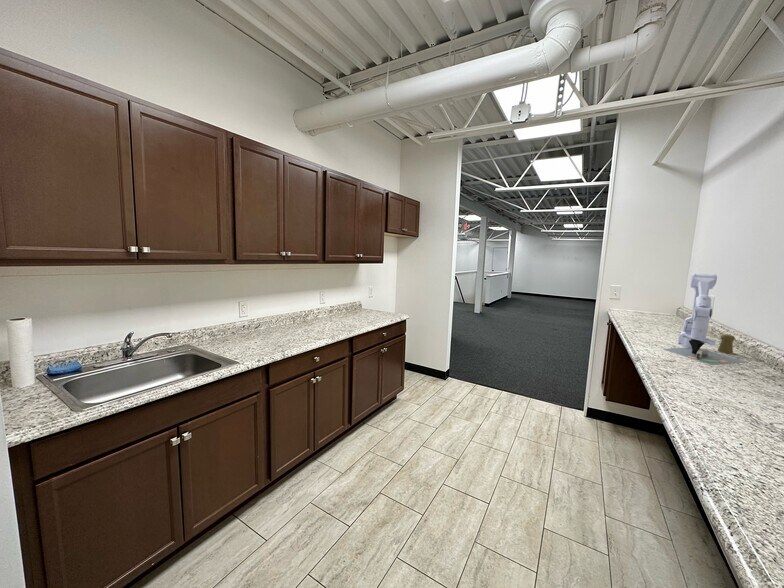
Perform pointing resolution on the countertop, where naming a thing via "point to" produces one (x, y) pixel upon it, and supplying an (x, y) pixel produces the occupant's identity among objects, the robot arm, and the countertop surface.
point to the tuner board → (710, 359)
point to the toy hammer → (701, 352)
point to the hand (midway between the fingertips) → (695, 353)
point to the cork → (726, 344)
